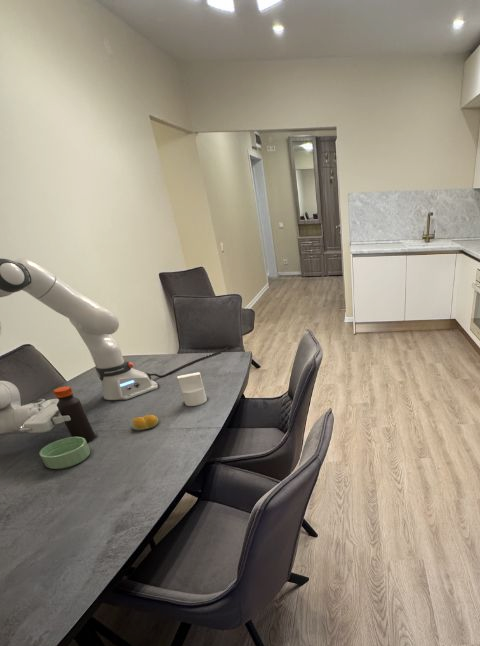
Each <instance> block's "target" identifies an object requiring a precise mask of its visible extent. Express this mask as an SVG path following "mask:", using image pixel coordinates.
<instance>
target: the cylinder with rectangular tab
mask: <svg viewBox="0 0 480 646" xmlns="http://www.w3.org/2000/svg"><path fill="white" fill-rule="evenodd" d="M201 375H202V374H201V372H200V371H199V372H197V371H196V372H193V373H187V374H181V375H177V376H176V377H177V381H178V385H179V388H180V392H181V395H182V399H183V402H184V405H185V406H187V407H196V406H200V405H203V404H205V403H206V402H207V400H208V398H207V394H206V391H205V387H204V383H203V379H202V376H201Z"/></svg>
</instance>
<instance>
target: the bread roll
mask: <svg viewBox="0 0 480 646" xmlns="http://www.w3.org/2000/svg"><path fill="white" fill-rule="evenodd" d="M131 423H132V424H131V425H132V428H133V430H135V431H145V430H148V429H153V428H154V427H156V426H157V425H158V424H159V419H158V417H157V416H156V415H154V414H147V415H144V416H137V417H135V418H133V419H132V422H131Z"/></svg>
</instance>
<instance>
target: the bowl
mask: <svg viewBox="0 0 480 646" xmlns="http://www.w3.org/2000/svg"><path fill="white" fill-rule="evenodd" d="M89 455H91V449H90V447H89V444H88V442H86V440H85V438H82V437H71V436H68V437H65V438H61V439H58V440H54V441H53V442H50V443H48V444H47V445H45V446H43V448H41V449H40V450H39V456H40V458H41V460H42V462H43V464H44V465H45V467H46V468H48V469H52V470H62V469H67V468H70V467H73V466H76V465H78V464H80V463H82V462H83V461H85V460H87V458H88V457H89Z"/></svg>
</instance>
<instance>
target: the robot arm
mask: <svg viewBox="0 0 480 646" xmlns="http://www.w3.org/2000/svg"><path fill="white" fill-rule="evenodd" d="M21 291H23V292H25V293H27V294H28V295H30V296H31V297H32V298H34V299H35V300H37V301H39V302H41V304H43V305H45V306H47V307H48V308H50V309H51V310H53V311H54V312H55V313H57V314H59V315H62V316H63V317H66V318H67V319H68V320H69V322H70V324H71V325H72V326H73V327H74V328H75V329H76V331H77V333H78V334H79V336H80V339H81V340H82V341H83V343H84V344H85V346H86V347H87V349H88V351H89V353H90V356H91V358H92V361H93V363H94V365H95V367H94V368H95V372H96V374H97V377H98V380H100V382H101V387H102V391H103V394H102V395H103V399H104V400H108V401H117V400H122V401H123V400H124V401H125V400H127V401H128V400H130V399H133V398H135V397H137V396H140V395H144V394H146V393H149V392H151V391H154V390H156V389H158V388H159V384H158V383H157V382H156V381H155V380H152V376H155V377H158V378H165V377H167V376H169V375H171V374H173V373H176V372H177V371H179V370H181V369H182V368H186V367H187V366H189V365H192V364H194V363H196V362H199V361H202V360H204V359H207V358H209V357H212V356H215V355H218V354H222V353H224V352H226V351H227V350H230V349H231V348H230V347H228V346H227V347H225V348H224V349H222V350H220V351H216V352H214V353H211V354H212V355H211V354H208V355H209V356H208V355H205V356H206V357H205V356H202V357H199V358H197V359H194V360H192V361H189V362H188V363H185V364H183V365H180V366H179V367H177V368H175V369H173V370H170V371H168V372H167V373H165V374H162V375H161V374H157V373H150V372H143V371H141V370H138V369H136V368H134V367H135V365H134V363H132V362H130V361H127V360H124V357H123V354H122V351H121V349H120V346H119V344H118V342H117V341H116V340H115V339H114V337H113V336H112V335H113V334H115V333H116V332H117V331H118V329H119V327H120V321H119V318H118V317H117V315H116V314H115V313H114V312H112V311H110V310H109V309H107V308H106V307H104V306H102V305H101V304H99V303H97V302H96V301H94V300H92V299H91V298H89V297H88V296H86V295H84V294H82V293H80V292H79V291H77V290H76V289H75V288H73V287H71V286H70V285H68V284H67V283H66V282H65V281H63V280H62V279H61V278H59V277H57V276H56V275H55V274H53V273H52V272H50V271H49V270H47V269H46V268H44V267H43V266H41V265H40V264H37V263H35V262H33V261H31V260H29V259H27V258H18V259H14V260H12V259H8V258H0V298H4V297H8V296H11V295H12V294H15V293H18V292H21ZM1 335H2V322H0V336H1ZM58 401H59V399H57V398H51V399H47V400H46V399H45V398H40V399H37V400H35V401H32V402H31V403H27V404H22V397H21V392H20V389H19V387H17V386H16V385H15V384H14V383H13V382H10V381H8V380H0V435H2V434H11V433H15V432H21V433H24V432H27V433H29V434H38V433H39V434H40V433H47V432H50V431H51V430H52V429H53V428H54V427H56V425H58V424H59V425H60V424H62V423H65V421H70V420H71V419H72V417H71V415H70V414H68V415H64V416H61V414H60V412H59V409H58V407H57V403H58Z"/></svg>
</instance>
